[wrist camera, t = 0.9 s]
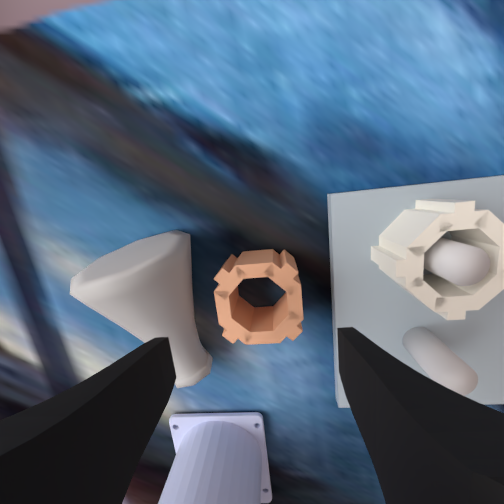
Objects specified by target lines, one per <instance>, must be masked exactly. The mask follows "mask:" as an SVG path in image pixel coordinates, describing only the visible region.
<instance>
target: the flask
mask: <svg viewBox="0 0 504 504" xmlns="http://www.w3.org/2000/svg"><path fill="white" fill-rule="evenodd" d="M70 295H72V296H73V297H75V298H76V299H78V300H79V301H81V302H82V303H84V304H85V305H87V306H88V307H90V308H92V309H93V310H95V311H96V312H98V313H100V314H101V315H103V316H105V317H106V318H108V319H109V320H111V321H113V322H114V323H116V324H118V325H119V326H121V327H123V328H124V329H125V330H127V331H128V332H130V333H131V334H133V335H134V336H136V337H137V338H139V339H140V340H142V341H143V342H145V343H146V342H148V341H149V340H151V339H153V338H157V337H168V338H169V343H170V347H171V352H172V357H173V362H174V367H175V372H176V381H175V385H176V386H177V388H181V387H187V386H192V385H195V384H196V383H198V382H199V381H200V380H202V379H203V378H204V377H206V376H207V375H208V374H210V371H211V366H212V361H213V358H212V356H211V355H210V354H209V353H208V351H207V350H206V349H205V348H204V347H202V344H201V342H200V340H199V336H198V332H197V328H196V323H195V318H194V304H193V290H192V265H191V241H190V234H187V233H184V232H181V231H178V230H173V231H169V232H166V233H162V234H158V235H155V236H151V237H148V238H144V239H141V240H137V241H135V242H133V243H131V244H129V245H126V246H124V247H122V248H120V249H118V250H116V251H113V252H111V253H109V254H106V255H104V256H102V257H100V258H98V259H97V260H95V261H94V262H93V263H92V264H90V265H89V266H88V267H86V268H85V269H84V270H82V271H81V272H80V273H78V274H77V275H76V276H74V277H73V278H72V279H71V286H70Z"/></svg>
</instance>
